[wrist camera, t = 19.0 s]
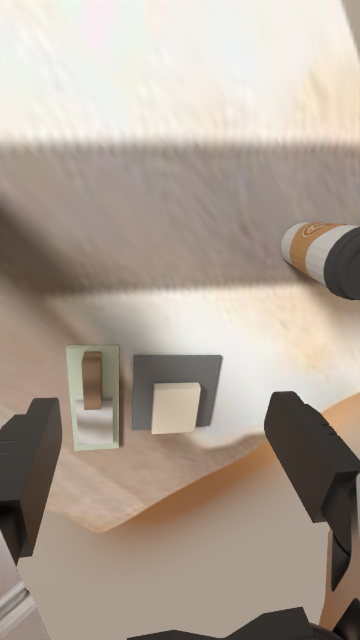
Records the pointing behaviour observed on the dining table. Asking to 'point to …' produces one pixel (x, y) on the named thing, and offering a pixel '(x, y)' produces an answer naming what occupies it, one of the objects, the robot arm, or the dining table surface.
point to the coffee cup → (326, 255)
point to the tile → (175, 407)
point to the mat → (173, 372)
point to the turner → (94, 404)
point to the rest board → (108, 384)
